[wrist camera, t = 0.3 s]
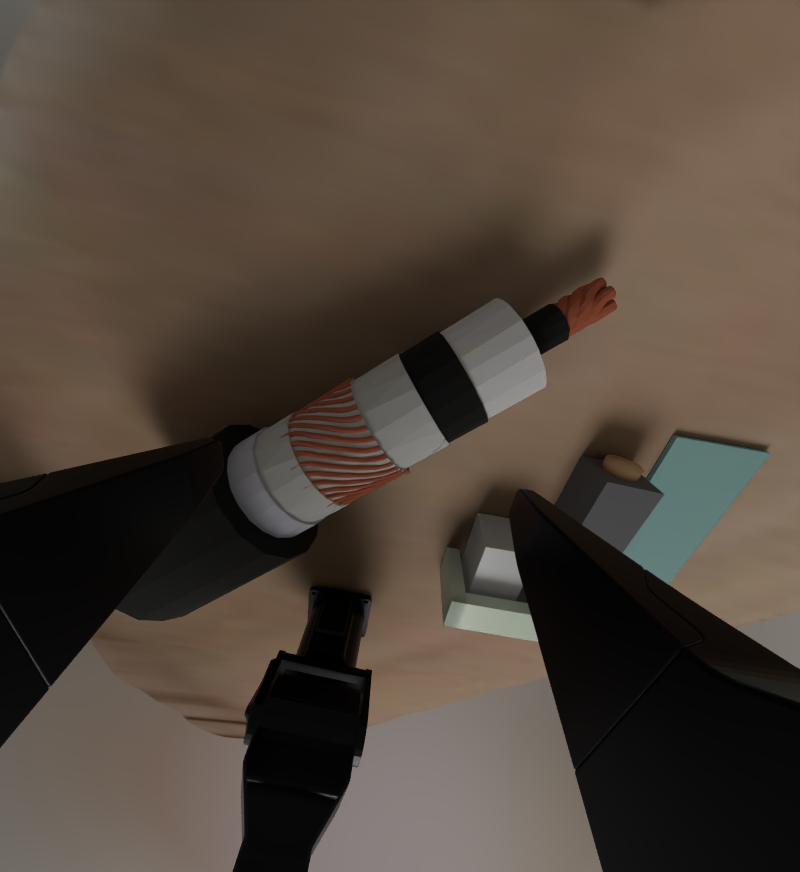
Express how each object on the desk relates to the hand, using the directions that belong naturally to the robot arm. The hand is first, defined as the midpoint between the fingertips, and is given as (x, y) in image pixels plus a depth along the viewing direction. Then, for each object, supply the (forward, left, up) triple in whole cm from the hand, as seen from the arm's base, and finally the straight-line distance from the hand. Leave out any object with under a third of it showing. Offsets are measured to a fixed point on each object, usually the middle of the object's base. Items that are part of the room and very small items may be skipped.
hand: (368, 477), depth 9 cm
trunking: (-16, -11, -14) cm, 24 cm away
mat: (-11, -24, -14) cm, 30 cm away
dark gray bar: (-12, -17, -14) cm, 25 cm away
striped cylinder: (-4, +2, -15) cm, 15 cm away
